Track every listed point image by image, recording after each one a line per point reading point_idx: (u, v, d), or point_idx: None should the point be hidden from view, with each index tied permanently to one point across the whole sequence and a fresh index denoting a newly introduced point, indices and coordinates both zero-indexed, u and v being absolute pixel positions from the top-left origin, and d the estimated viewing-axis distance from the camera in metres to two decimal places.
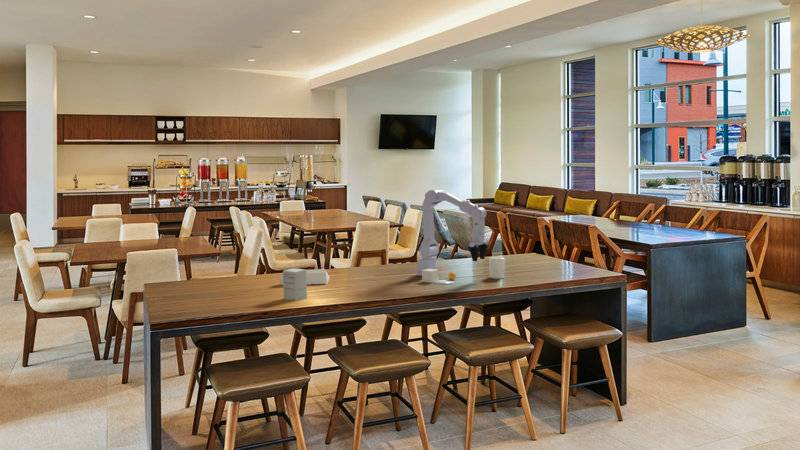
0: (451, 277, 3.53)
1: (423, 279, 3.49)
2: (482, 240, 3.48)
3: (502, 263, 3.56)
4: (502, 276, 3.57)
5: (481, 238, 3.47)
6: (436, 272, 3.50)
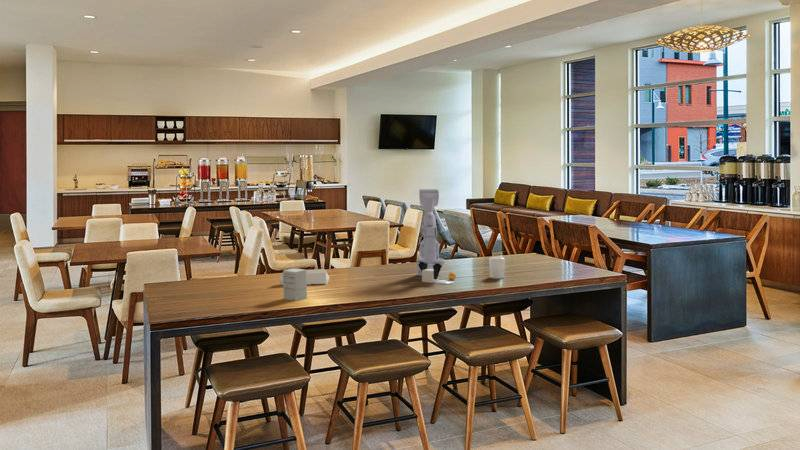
0: (451, 277, 3.53)
1: (423, 279, 3.49)
2: (425, 258, 3.48)
3: (502, 263, 3.56)
4: (502, 276, 3.57)
5: (424, 256, 3.48)
6: None
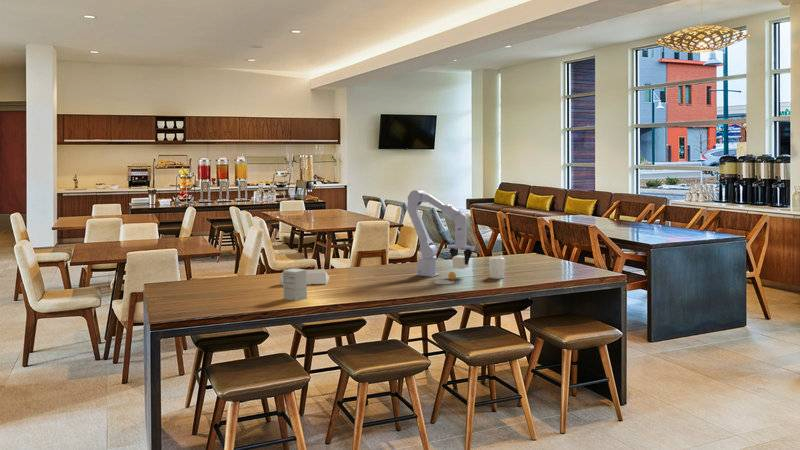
0: (451, 277, 3.53)
1: (454, 265, 3.60)
2: (456, 244, 3.58)
3: (502, 263, 3.56)
4: (502, 276, 3.57)
5: (455, 242, 3.59)
6: None
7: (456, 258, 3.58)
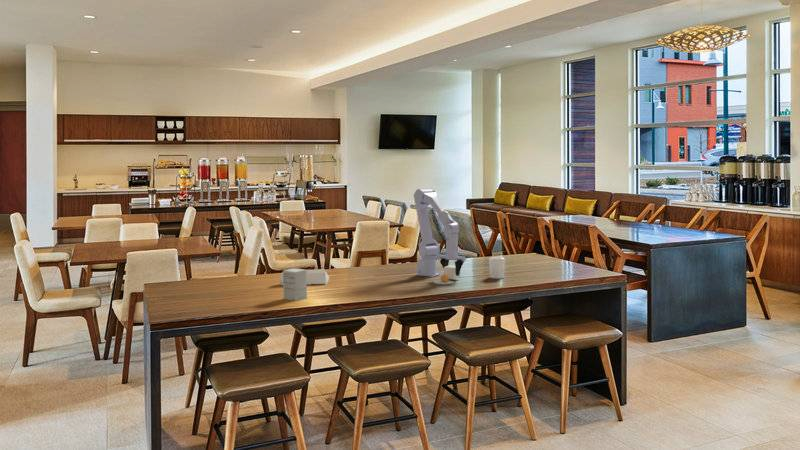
0: (446, 275, 3.48)
1: None
2: (447, 255, 3.51)
3: (502, 263, 3.56)
4: (502, 276, 3.57)
5: (446, 253, 3.52)
6: None
7: (447, 268, 3.52)
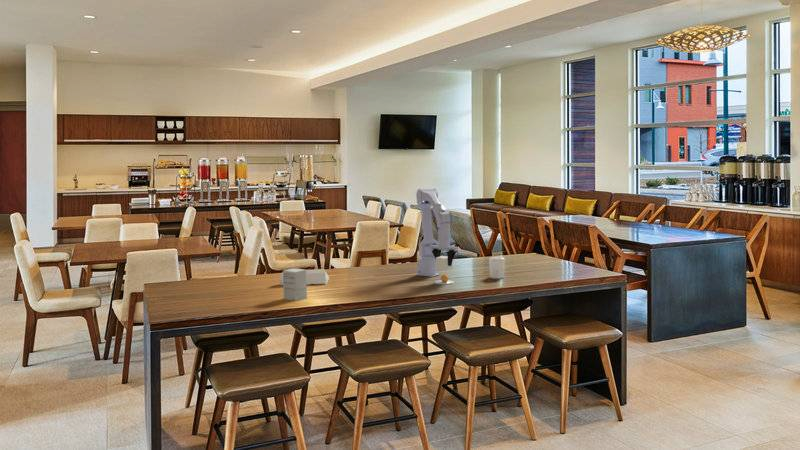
0: (446, 275, 3.48)
1: (437, 266, 3.46)
2: (439, 245, 3.45)
3: (502, 263, 3.56)
4: (502, 276, 3.57)
5: (438, 243, 3.45)
6: None
7: (439, 259, 3.45)
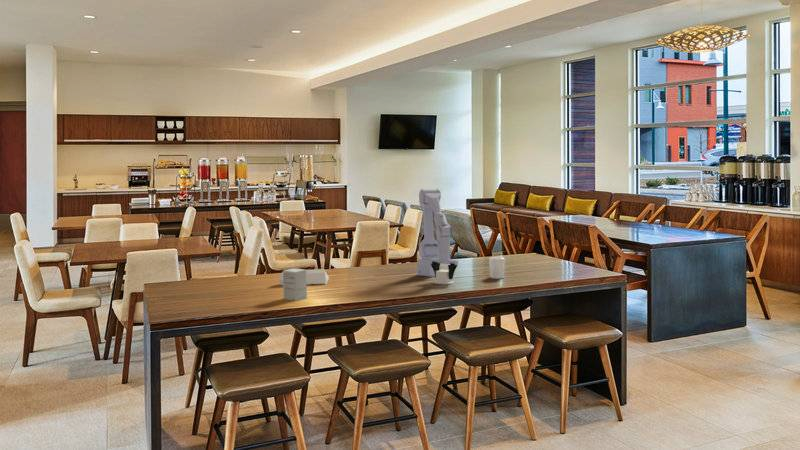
0: None
1: (437, 280, 3.47)
2: (439, 258, 3.45)
3: (502, 263, 3.56)
4: (502, 276, 3.57)
5: (438, 256, 3.46)
6: None
7: (440, 272, 3.46)
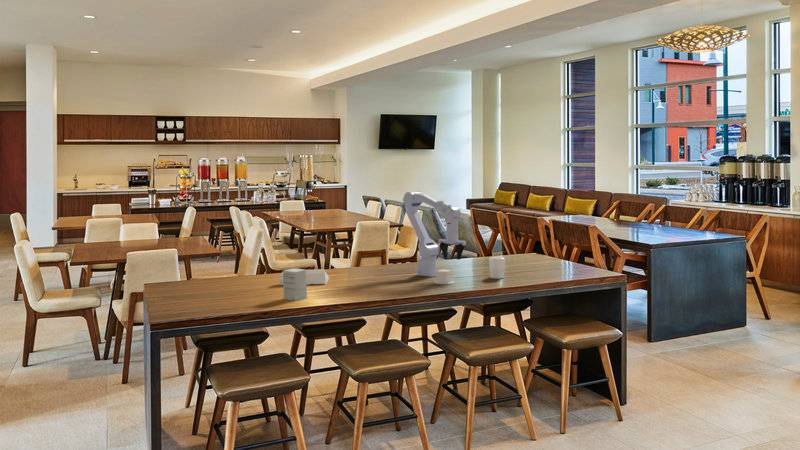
0: None
1: (437, 280, 3.47)
2: (447, 239, 3.55)
3: (502, 263, 3.56)
4: (502, 276, 3.57)
5: (447, 237, 3.55)
6: (450, 273, 3.47)
7: (440, 272, 3.46)
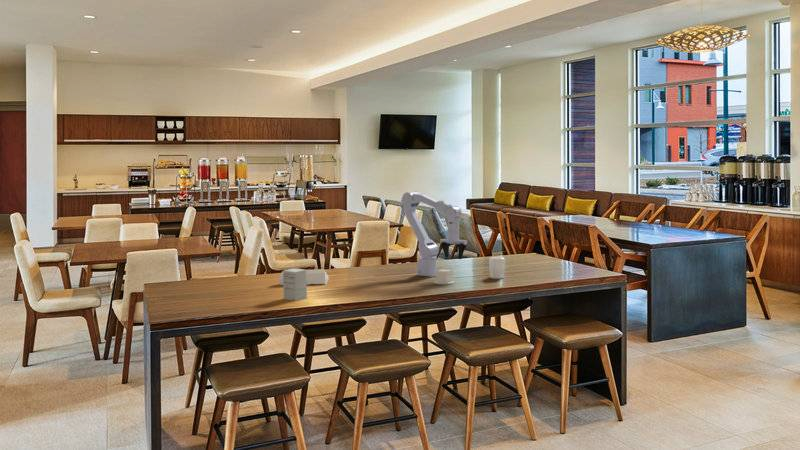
0: None
1: (437, 280, 3.47)
2: (449, 239, 3.56)
3: (502, 263, 3.56)
4: (502, 276, 3.57)
5: (448, 236, 3.56)
6: (450, 273, 3.47)
7: (440, 272, 3.46)
